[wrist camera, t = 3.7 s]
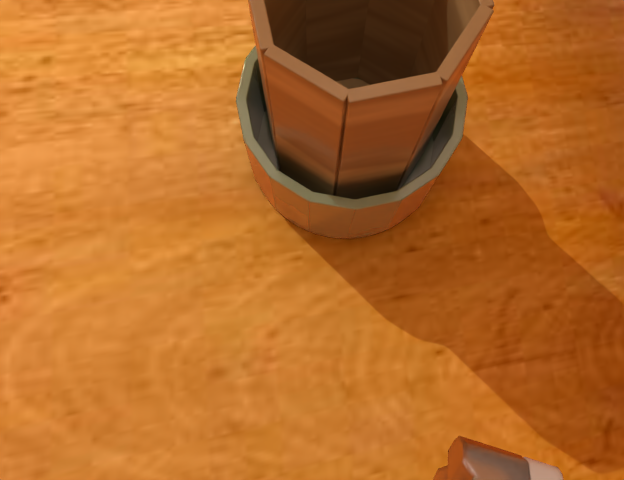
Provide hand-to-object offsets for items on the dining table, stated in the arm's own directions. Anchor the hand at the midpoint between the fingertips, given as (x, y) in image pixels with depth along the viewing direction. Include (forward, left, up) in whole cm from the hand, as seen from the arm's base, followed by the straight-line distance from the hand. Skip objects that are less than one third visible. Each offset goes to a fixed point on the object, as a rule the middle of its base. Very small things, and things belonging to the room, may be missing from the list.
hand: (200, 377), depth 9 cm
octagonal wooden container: (+3, -10, -15) cm, 19 cm away
